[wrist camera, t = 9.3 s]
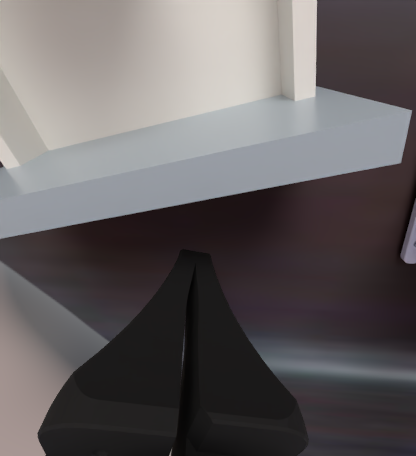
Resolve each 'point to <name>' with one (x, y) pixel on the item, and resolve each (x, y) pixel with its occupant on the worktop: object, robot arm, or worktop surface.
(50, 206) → the tray
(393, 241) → the worktop surface
